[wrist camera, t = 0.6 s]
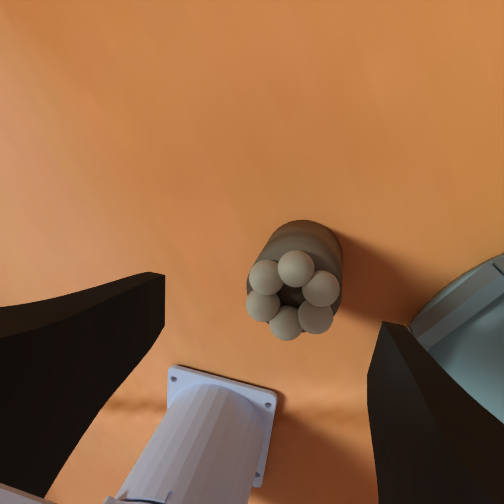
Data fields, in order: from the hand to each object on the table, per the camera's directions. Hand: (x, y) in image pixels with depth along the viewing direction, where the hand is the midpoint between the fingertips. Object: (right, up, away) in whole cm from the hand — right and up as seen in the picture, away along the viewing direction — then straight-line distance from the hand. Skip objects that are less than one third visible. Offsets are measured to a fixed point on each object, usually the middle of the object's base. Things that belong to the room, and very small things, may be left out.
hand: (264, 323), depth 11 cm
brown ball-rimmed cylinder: (+3, +2, +9) cm, 9 cm away
